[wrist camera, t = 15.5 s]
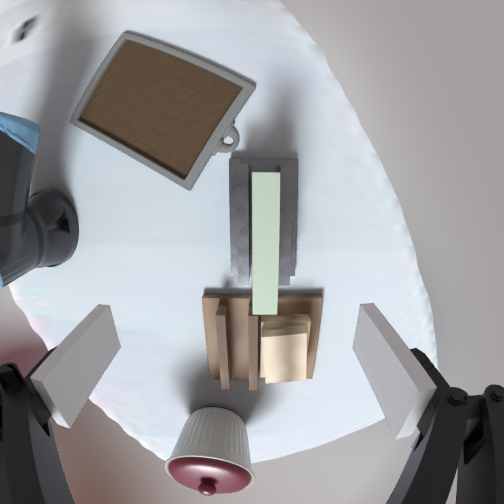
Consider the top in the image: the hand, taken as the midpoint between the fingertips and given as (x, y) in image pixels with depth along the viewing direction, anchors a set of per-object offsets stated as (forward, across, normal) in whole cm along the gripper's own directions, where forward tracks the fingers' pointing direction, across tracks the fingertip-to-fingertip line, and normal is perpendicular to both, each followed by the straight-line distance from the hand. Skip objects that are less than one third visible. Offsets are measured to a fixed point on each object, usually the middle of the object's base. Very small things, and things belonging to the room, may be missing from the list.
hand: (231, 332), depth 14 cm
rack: (+31, +2, -22) cm, 38 cm away
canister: (+31, -8, -46) cm, 56 cm away
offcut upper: (+27, +6, -22) cm, 35 cm away
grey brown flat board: (+32, -14, +20) cm, 40 cm away
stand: (+31, +3, 0) cm, 31 cm away
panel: (+29, +2, 0) cm, 30 cm away
